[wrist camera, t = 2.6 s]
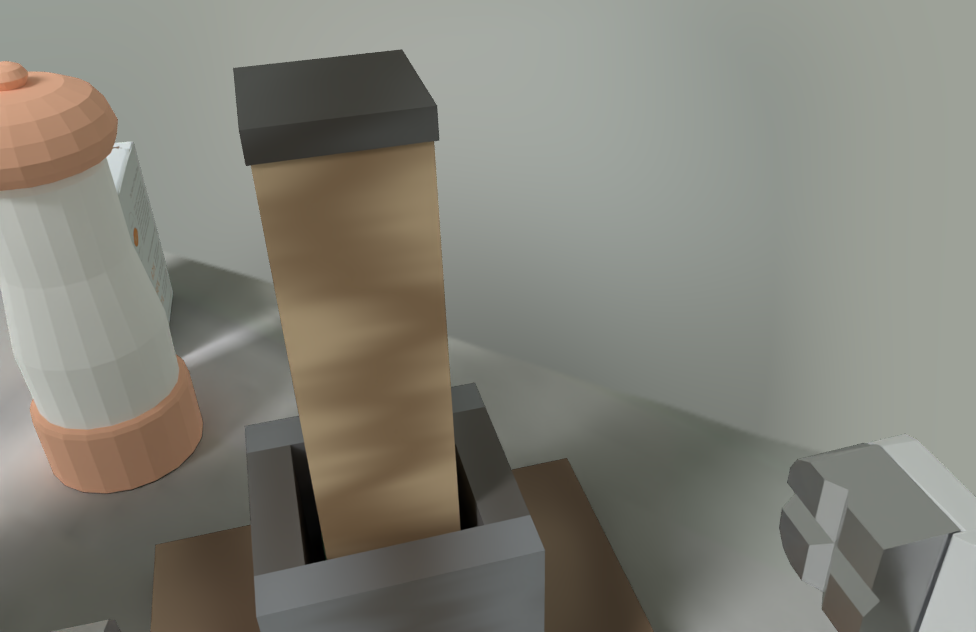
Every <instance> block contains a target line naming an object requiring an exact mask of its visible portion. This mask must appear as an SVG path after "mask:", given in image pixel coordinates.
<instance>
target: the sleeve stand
mask: <svg viewBox="0 0 976 632" xmlns="http://www.w3.org/2000/svg"><path fill="white" fill-rule="evenodd" d="M451 397H452V412H453V426H454V441H455V456H456V471H457V485H458V500H459V515H460V529H461V530H460V531H456V532H451V533H447V534H442V535H438V536H433V537H429V538H424V539H420V540H415V541H411V542H406V543H402V544H397V545H393V546H388V547H384V548H379V549H375V550H370V551H366V552H361V553H357V554H352V555H348V556H343V557H339V558H334V559H330V560H325V556H324V550H323V543H322V536H321V533H322V532H321V527H320V522H319V516H318V511H317V506H316V501H315V496H314V490H313V485H312V480H311V475H310V470H309V464H308V459H307V454H306V449H305V444H304V439H303V433H302V428H301V423H300V418H299V416H296V417H290V418H285V419H280V420H275V421H269V422H264V423H259V424H253V425H248V426H245V437H246V454H247V470H248V487H249V503H250V520H251V525H247V526H242V527H238V528H233V529H228V530H223V531H219V532H214V533H209V534H204V535H200V536H195V537H190V538H185V539H181V540H176V541H171V542H166V543H162V544H157V545H155V562H154V579H153V597H152V614H151V631H150V632H654V631H653V629H652V627H651V625H650V623H649V621H648V619H647V617H646V615H645V613H644V611H643V609H642V607H641V605H640V603H639V601H638V599H637V597H636V595H635V593H634V591H633V589H632V587H631V585H630V583H629V581H628V579H627V577H626V575H625V573H624V571H623V569H622V567H621V565H620V563H619V561H618V559H617V557H616V555H615V553H614V551H613V549H612V547H611V545H610V543H609V541H608V539H607V537H606V535H605V533H604V531H603V529H602V527H601V525H600V523H599V521H598V519H597V517H596V515H595V513H594V511H593V509H592V507H591V505H590V503H589V501H588V499H587V497H586V495H585V493H584V491H583V489H582V487H581V485H580V483H579V481H578V479H577V477H576V475H575V473H574V471H573V469H572V467H571V465H570V463H569V461H568V459H567V458H565V459H560V460H555V461H551V462H546V463H541V464H536V465H532V466H527V467H522V468H518V469H513V470H511V468H510V465H509V463H508V461H507V458H506V456H505V453H504V451H503V449H502V446H501V444H500V441H499V439H498V437H497V434H496V432H495V429H494V427H493V425H492V422H491V420H490V417H489V415H488V413H487V410H486V408H485V405H484V403H483V401H482V398H481V396H480V393H479V391H478V389H477V386H476V384H475V383H470V384H465V385H460V386H455V387H451Z"/></svg>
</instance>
